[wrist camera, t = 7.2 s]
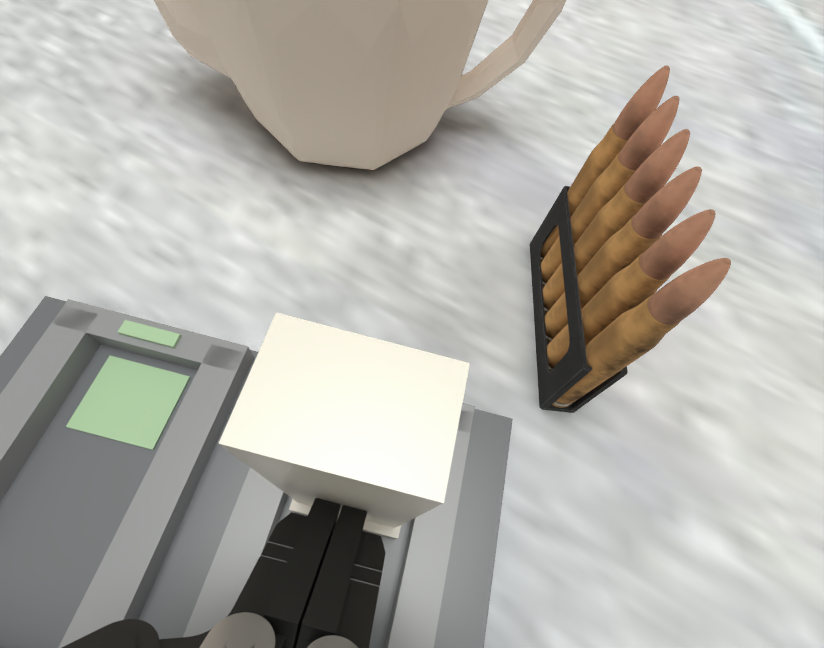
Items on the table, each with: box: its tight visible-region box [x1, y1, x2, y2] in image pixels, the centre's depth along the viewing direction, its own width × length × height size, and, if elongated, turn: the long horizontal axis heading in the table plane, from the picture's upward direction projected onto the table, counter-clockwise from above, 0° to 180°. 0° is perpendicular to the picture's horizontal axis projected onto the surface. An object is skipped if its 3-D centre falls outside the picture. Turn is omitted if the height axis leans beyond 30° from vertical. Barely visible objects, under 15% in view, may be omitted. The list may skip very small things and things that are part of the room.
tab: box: [219, 313, 470, 539], centre depth 12 cm, size 4×3×12 cm
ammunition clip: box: [530, 66, 731, 413], centre depth 20 cm, size 11×2×12 cm, turn 176°
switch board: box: [0, 296, 512, 648], centre depth 16 cm, size 22×18×3 cm
